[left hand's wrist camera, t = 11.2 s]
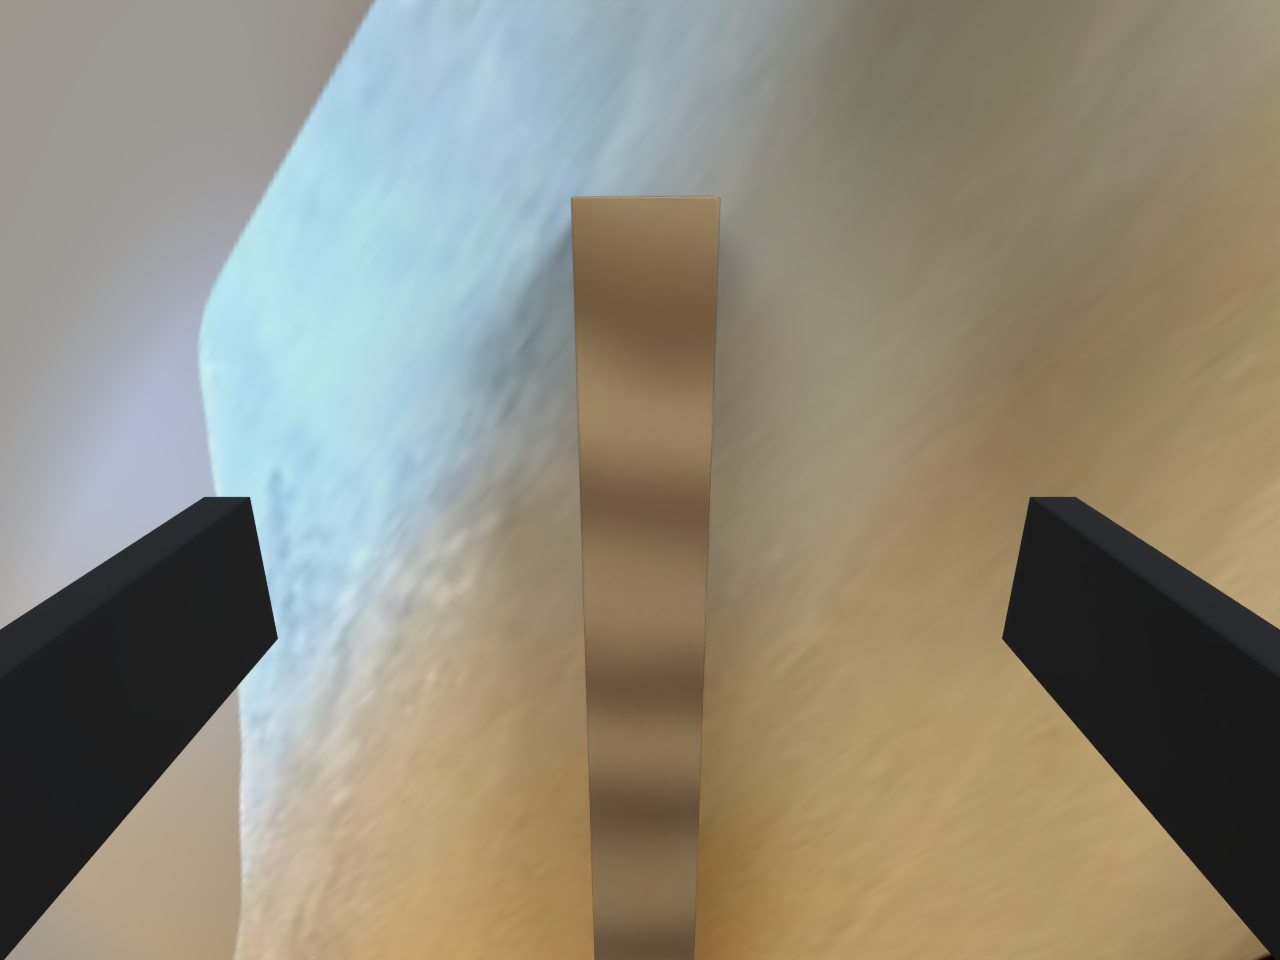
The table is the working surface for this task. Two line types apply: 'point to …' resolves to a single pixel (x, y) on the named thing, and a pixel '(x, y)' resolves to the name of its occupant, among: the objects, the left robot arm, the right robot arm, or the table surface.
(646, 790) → the bar
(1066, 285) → the table surface
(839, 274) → the table surface
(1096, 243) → the table surface
